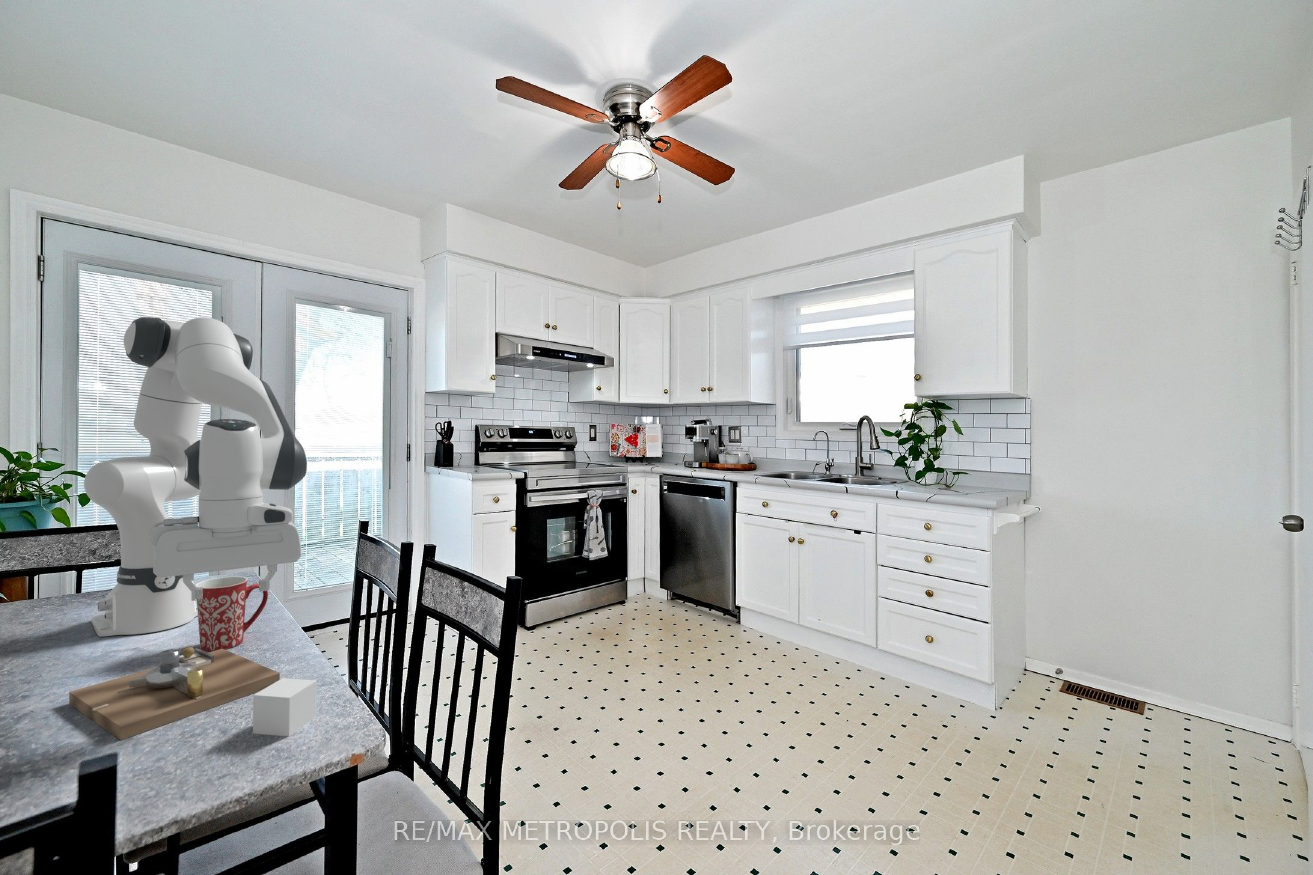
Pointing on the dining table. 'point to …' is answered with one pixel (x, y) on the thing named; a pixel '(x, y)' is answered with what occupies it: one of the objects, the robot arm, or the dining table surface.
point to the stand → (170, 693)
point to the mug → (224, 612)
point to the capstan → (173, 675)
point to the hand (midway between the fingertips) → (231, 594)
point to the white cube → (284, 707)
